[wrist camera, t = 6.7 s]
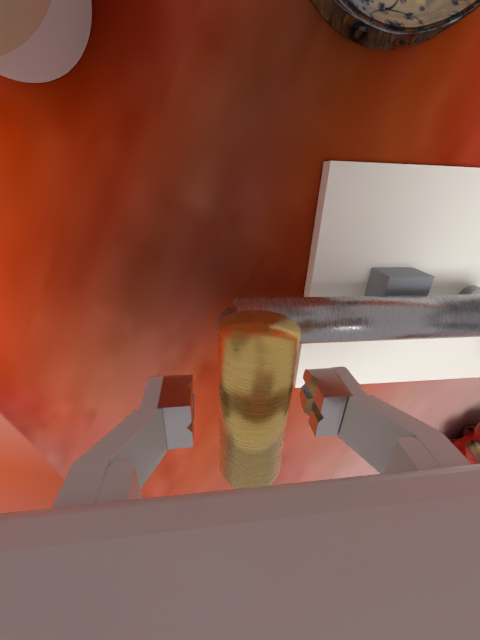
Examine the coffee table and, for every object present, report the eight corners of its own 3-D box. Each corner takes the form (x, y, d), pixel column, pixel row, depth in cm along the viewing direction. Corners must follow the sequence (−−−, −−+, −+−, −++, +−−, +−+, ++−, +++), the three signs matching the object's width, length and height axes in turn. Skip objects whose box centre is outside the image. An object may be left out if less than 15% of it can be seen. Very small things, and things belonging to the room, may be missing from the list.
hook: (211, 342, 19) (220, 494, 10) (210, 253, 16) (221, 350, 7) (462, 333, 21) (658, 448, 12) (498, 255, 18) (787, 327, 9)
